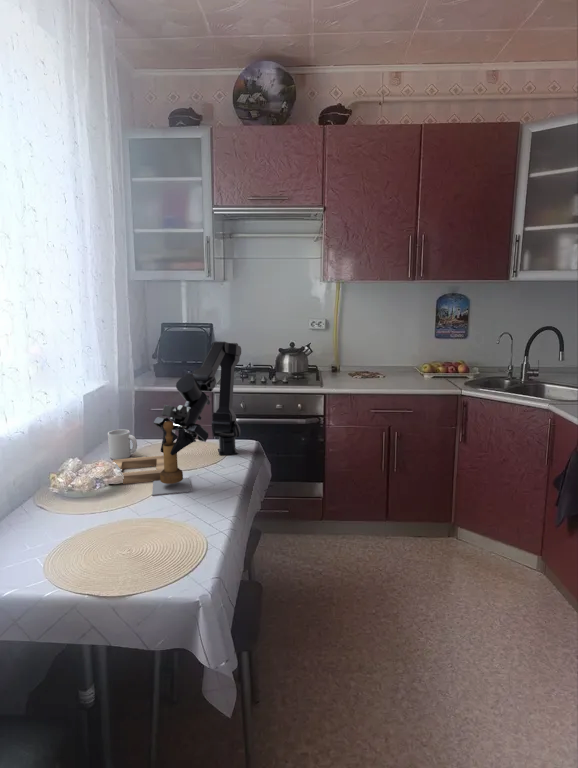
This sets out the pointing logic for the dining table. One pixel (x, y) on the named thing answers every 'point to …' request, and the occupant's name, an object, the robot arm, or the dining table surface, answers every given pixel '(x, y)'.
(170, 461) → the wooden pepper mill
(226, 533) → the dining table surface
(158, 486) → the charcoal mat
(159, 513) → the dining table surface
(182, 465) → the dining table surface
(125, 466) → the walnut holder
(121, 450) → the cup
